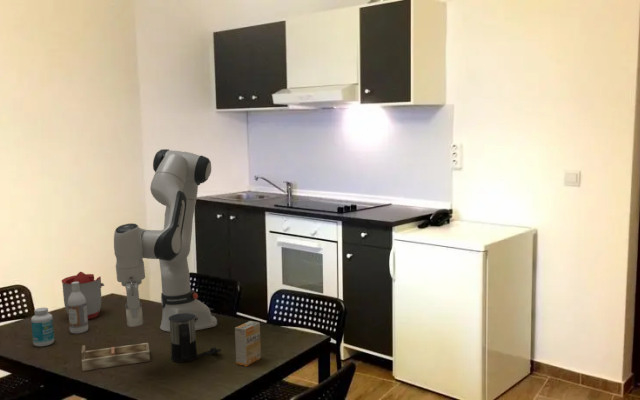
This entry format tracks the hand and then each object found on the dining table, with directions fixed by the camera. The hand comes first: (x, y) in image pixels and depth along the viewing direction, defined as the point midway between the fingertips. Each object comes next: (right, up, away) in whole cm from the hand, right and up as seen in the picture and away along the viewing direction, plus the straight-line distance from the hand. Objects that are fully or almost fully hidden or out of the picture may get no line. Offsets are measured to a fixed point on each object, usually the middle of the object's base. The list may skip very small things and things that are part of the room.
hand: (134, 314), depth 204 cm
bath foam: (-35, -15, +44) cm, 58 cm away
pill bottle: (-44, -17, +31) cm, 56 cm away
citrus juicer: (-39, -12, +62) cm, 75 cm away
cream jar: (0, -3, 0) cm, 3 cm away
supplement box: (+37, -18, +8) cm, 42 cm away
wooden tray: (-10, -18, +11) cm, 24 cm away
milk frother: (+18, -18, +13) cm, 28 cm away
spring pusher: (-11, -17, +11) cm, 23 cm away
